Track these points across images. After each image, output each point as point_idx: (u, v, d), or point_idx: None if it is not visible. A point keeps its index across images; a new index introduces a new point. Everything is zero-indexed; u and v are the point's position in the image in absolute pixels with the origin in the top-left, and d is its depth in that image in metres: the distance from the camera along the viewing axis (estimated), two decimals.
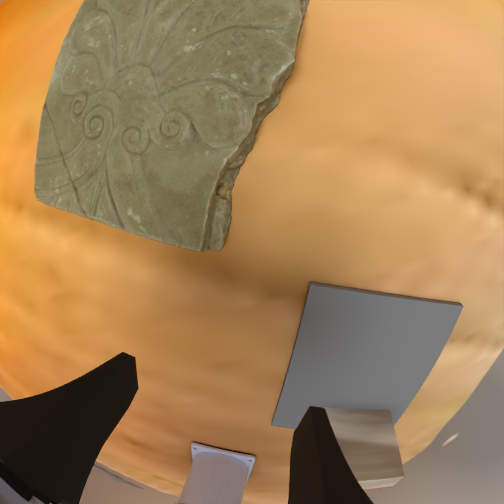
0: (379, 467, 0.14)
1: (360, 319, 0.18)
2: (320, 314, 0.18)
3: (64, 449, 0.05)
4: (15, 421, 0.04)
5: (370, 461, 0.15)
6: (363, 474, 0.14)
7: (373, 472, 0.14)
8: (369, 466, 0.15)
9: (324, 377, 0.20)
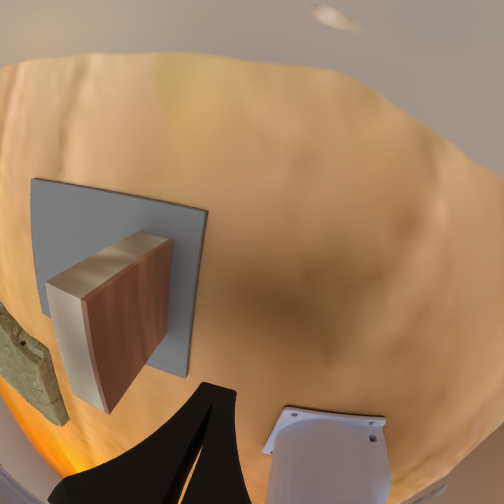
0: None
1: None
2: None
3: (169, 502, 0.05)
4: (122, 492, 0.04)
5: None
6: None
7: None
8: None
9: None
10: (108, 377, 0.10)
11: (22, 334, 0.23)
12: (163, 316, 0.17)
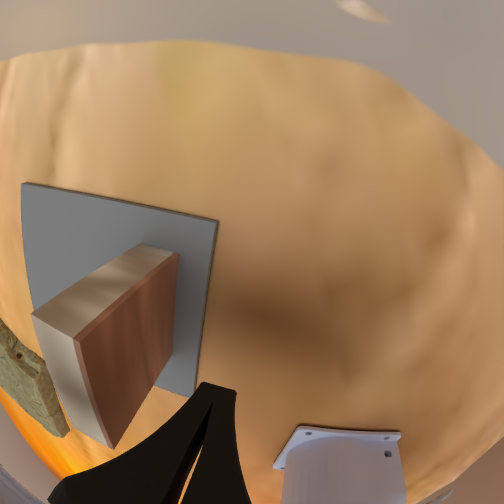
0: None
1: (42, 295, 0.17)
2: None
3: (169, 502, 0.05)
4: (122, 492, 0.04)
5: None
6: None
7: None
8: None
9: None
10: (111, 414, 0.09)
11: (18, 346, 0.21)
12: (169, 337, 0.15)
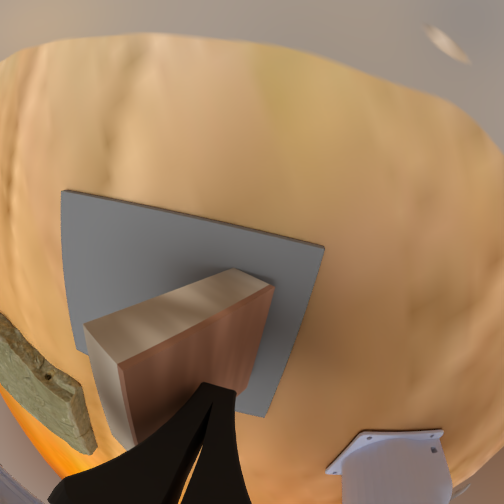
0: None
1: (87, 318, 0.17)
2: None
3: (169, 502, 0.05)
4: (122, 493, 0.04)
5: None
6: None
7: None
8: None
9: None
10: None
11: (46, 366, 0.21)
12: (246, 371, 0.14)
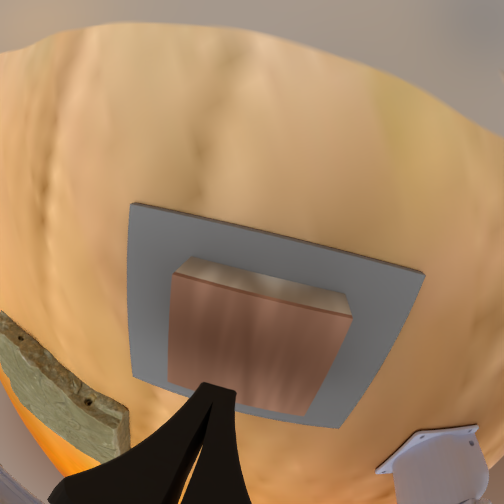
0: None
1: (156, 346, 0.16)
2: (157, 376, 0.17)
3: (169, 502, 0.05)
4: (122, 492, 0.04)
5: None
6: None
7: None
8: None
9: None
10: (179, 356, 0.13)
11: (84, 390, 0.20)
12: (302, 393, 0.13)
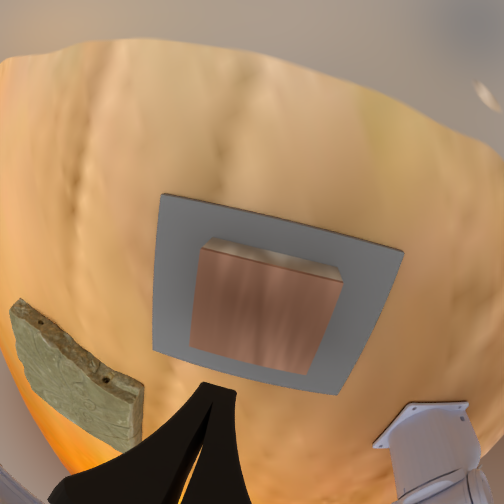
0: None
1: (177, 318, 0.20)
2: (176, 347, 0.21)
3: (169, 502, 0.05)
4: (122, 492, 0.04)
5: None
6: None
7: None
8: None
9: None
10: (201, 320, 0.16)
11: (102, 369, 0.24)
12: (304, 352, 0.16)
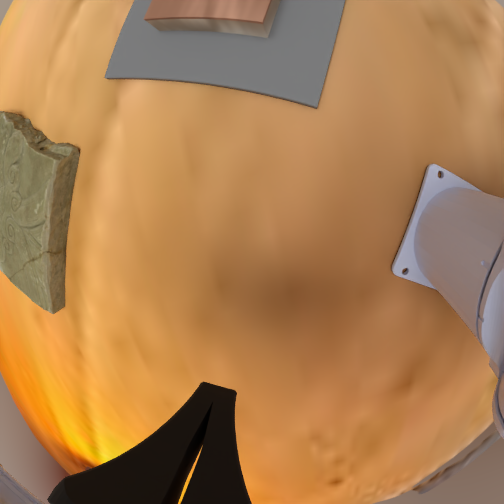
0: None
1: (140, 30, 0.14)
2: (129, 63, 0.15)
3: (169, 502, 0.05)
4: (122, 492, 0.04)
5: None
6: None
7: None
8: None
9: (208, 42, 0.14)
10: None
11: (45, 142, 0.18)
12: None
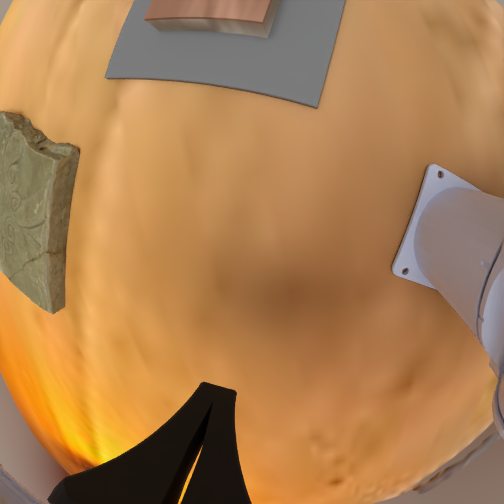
0: None
1: (140, 30, 0.14)
2: (129, 63, 0.15)
3: (169, 502, 0.05)
4: (122, 492, 0.04)
5: None
6: None
7: None
8: None
9: (208, 42, 0.14)
10: None
11: (45, 142, 0.18)
12: None
